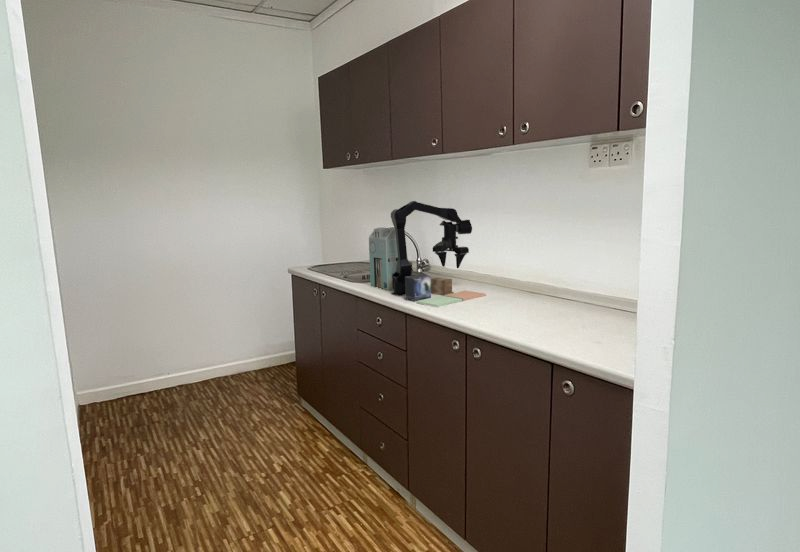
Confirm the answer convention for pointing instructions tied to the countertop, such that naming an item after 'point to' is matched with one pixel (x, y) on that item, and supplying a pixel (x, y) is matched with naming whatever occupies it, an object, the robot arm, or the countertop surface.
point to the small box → (417, 287)
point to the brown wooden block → (441, 286)
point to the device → (383, 257)
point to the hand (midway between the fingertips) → (450, 267)
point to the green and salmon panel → (450, 298)
